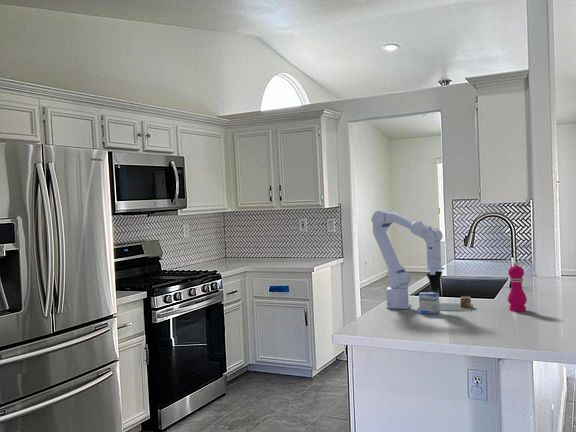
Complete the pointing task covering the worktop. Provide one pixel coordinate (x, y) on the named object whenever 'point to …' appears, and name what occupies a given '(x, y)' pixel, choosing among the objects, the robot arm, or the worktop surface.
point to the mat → (452, 307)
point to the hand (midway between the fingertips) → (435, 289)
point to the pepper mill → (516, 289)
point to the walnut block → (465, 302)
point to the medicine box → (429, 303)
